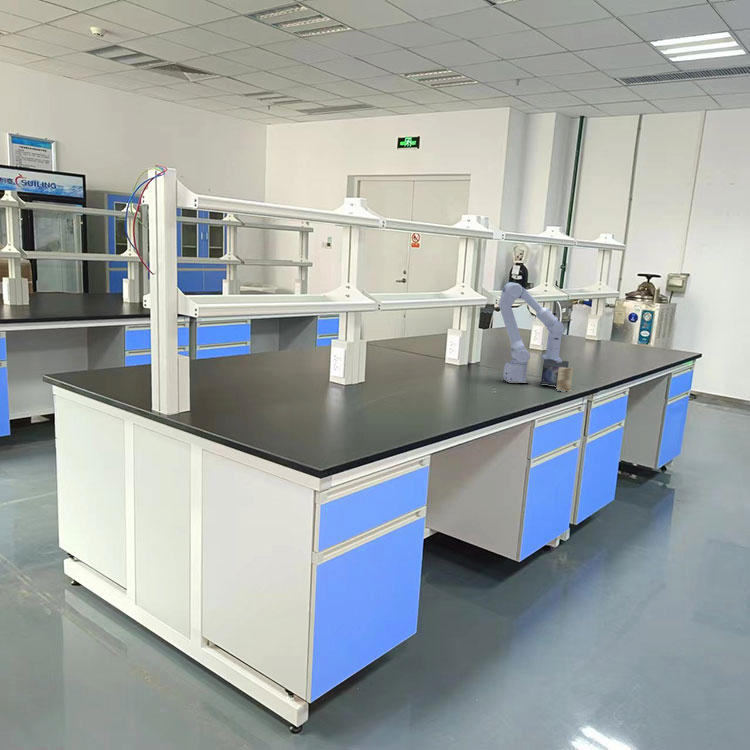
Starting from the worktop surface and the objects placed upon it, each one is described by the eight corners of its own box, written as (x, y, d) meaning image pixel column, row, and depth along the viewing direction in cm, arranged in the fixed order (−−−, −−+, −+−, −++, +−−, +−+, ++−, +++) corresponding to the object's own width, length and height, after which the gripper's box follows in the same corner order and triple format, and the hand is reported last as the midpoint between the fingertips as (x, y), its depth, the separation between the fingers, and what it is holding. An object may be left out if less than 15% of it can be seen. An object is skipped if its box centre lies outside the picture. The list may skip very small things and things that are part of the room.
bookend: (559, 392, 273) (562, 368, 271) (555, 390, 276) (558, 367, 274) (572, 392, 274) (575, 369, 272) (568, 391, 277) (571, 367, 275)
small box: (540, 386, 284) (542, 365, 279) (541, 379, 289) (543, 358, 284) (565, 389, 281) (568, 367, 276) (566, 382, 286) (568, 360, 281)
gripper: (569, 350, 280) (566, 381, 282) (553, 345, 294) (550, 374, 296) (555, 350, 278) (551, 381, 281) (539, 344, 292) (535, 374, 295)
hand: (549, 377), depth 288 cm, fingers closed
